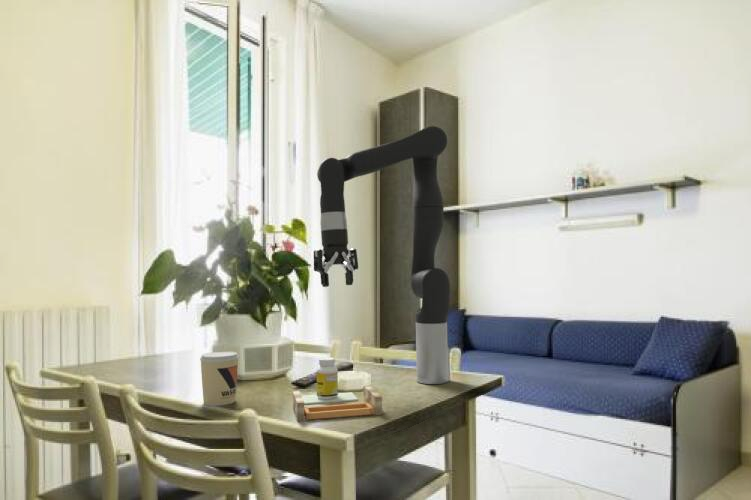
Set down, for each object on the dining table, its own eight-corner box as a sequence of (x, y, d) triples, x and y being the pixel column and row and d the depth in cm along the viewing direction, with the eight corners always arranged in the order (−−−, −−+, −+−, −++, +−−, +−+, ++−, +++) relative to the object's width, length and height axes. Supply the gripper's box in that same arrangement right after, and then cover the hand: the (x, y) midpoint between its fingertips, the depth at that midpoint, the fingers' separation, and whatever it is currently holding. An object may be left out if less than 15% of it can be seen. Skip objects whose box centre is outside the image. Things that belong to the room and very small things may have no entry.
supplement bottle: (314, 396, 134) (314, 357, 134) (334, 394, 136) (334, 356, 136) (320, 400, 129) (319, 360, 129) (340, 398, 131) (340, 359, 131)
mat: (299, 397, 134) (299, 395, 134) (351, 393, 138) (351, 392, 138) (302, 404, 127) (302, 403, 127) (358, 400, 130) (358, 399, 130)
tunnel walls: (292, 407, 124) (292, 390, 124) (369, 401, 129) (369, 385, 129) (297, 421, 112) (297, 403, 112) (382, 414, 117) (382, 396, 117)
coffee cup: (224, 407, 125) (224, 357, 126) (192, 405, 128) (192, 356, 129) (245, 398, 134) (245, 352, 135) (215, 396, 137) (215, 350, 138)
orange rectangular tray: (303, 414, 118) (303, 407, 118) (367, 409, 121) (367, 402, 122) (306, 420, 113) (306, 413, 113) (373, 415, 116) (373, 408, 116)
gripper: (321, 227, 140) (325, 287, 139) (361, 228, 150) (365, 283, 149) (305, 230, 146) (309, 288, 145) (345, 231, 155) (348, 285, 154)
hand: (337, 285), depth 147 cm, fingers open, 8 cm apart
